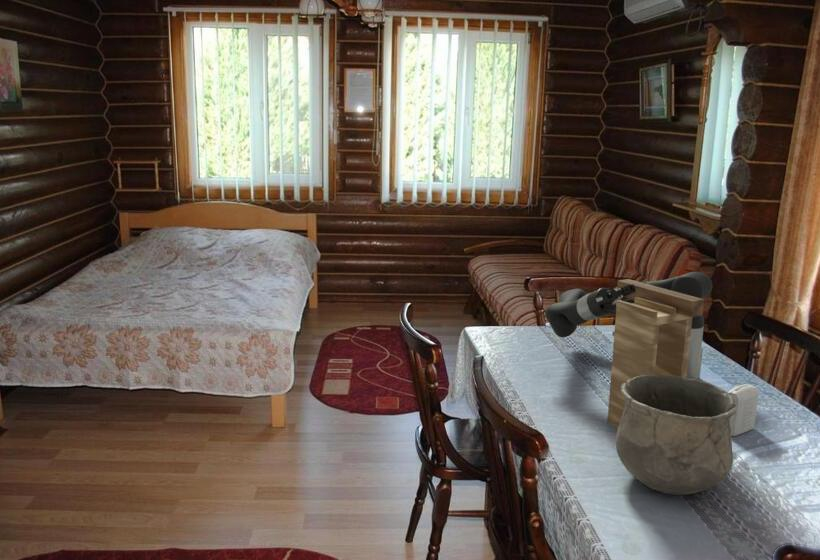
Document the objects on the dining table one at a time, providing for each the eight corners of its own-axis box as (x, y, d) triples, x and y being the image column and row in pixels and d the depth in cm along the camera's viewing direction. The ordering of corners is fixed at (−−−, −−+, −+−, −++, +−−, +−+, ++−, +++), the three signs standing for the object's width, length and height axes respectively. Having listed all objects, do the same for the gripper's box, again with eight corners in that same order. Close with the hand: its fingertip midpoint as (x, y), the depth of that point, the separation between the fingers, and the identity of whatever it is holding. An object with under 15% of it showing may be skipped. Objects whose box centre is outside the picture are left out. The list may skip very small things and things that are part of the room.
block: (627, 293, 187) (628, 279, 187) (702, 315, 167) (704, 299, 166) (616, 295, 186) (617, 280, 185) (691, 317, 165) (693, 301, 164)
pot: (753, 504, 144) (766, 410, 139) (657, 522, 138) (667, 423, 133) (676, 450, 167) (685, 367, 162) (591, 463, 161) (597, 377, 156)
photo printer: (741, 422, 183) (746, 379, 180) (756, 428, 179) (762, 384, 176) (718, 432, 177) (723, 387, 174) (733, 438, 174) (739, 393, 171)
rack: (644, 411, 189) (655, 293, 181) (681, 428, 179) (694, 304, 171) (606, 422, 182) (616, 300, 174) (642, 440, 172) (654, 312, 164)
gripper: (618, 313, 198) (663, 296, 183) (581, 320, 191) (625, 303, 176) (610, 289, 199) (654, 270, 185) (573, 295, 193) (616, 276, 178)
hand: (639, 286), depth 181 cm, fingers closed on block, 4 cm apart
